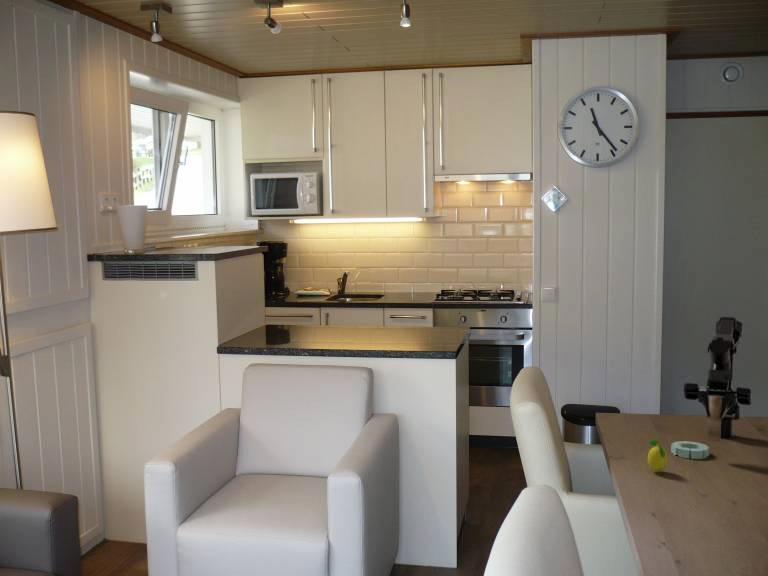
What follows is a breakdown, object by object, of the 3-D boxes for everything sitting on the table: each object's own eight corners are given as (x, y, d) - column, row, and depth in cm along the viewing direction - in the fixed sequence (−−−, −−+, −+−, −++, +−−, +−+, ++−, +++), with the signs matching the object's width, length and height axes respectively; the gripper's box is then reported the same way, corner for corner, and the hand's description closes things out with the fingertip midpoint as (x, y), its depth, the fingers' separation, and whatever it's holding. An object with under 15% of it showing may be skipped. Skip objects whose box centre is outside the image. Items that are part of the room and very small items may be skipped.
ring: (679, 447, 262) (680, 439, 262) (713, 453, 256) (713, 445, 255) (666, 454, 255) (666, 446, 254) (700, 461, 248) (700, 452, 248)
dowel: (711, 437, 250) (712, 395, 249) (722, 439, 248) (724, 396, 247) (706, 439, 248) (707, 396, 247) (717, 441, 246) (718, 398, 244)
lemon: (649, 467, 242) (650, 433, 241) (669, 470, 239) (671, 436, 238) (643, 473, 236) (644, 439, 235) (664, 477, 233) (665, 442, 232)
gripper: (685, 356, 254) (679, 399, 245) (752, 361, 245) (748, 405, 236) (688, 376, 261) (682, 419, 253) (752, 382, 253) (749, 426, 244)
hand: (714, 417), depth 246 cm, fingers closed on dowel, 3 cm apart
